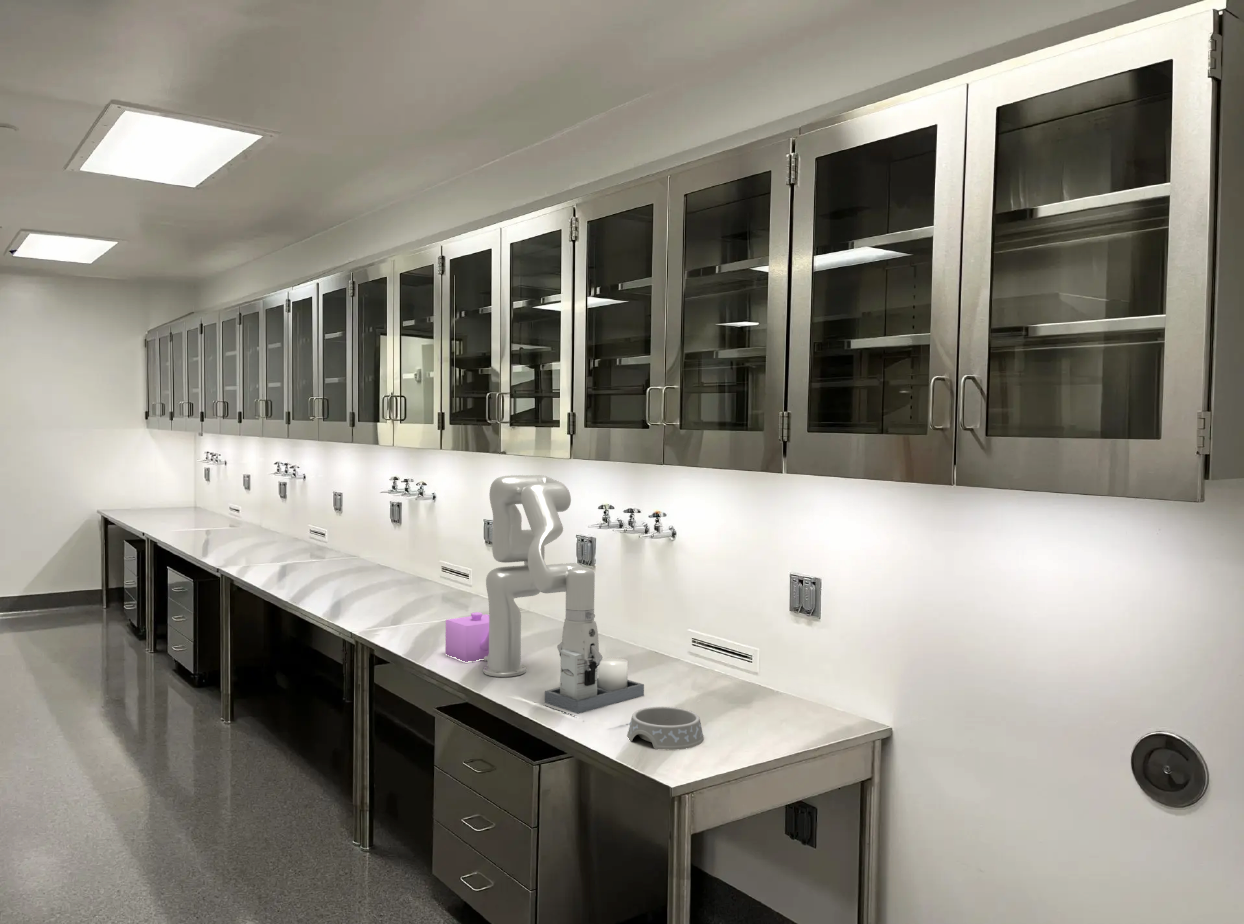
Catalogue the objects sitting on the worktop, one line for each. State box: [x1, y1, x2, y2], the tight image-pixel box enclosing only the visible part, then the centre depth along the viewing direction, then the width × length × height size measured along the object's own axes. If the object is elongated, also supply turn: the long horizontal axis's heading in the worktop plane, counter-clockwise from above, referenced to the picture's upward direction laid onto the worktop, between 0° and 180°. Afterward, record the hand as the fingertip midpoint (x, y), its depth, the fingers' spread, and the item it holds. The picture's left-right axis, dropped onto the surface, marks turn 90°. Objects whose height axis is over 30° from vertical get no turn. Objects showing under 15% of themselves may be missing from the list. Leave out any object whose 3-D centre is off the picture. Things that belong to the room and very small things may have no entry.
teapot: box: [445, 611, 489, 662], centre depth 291 cm, size 15×25×14 cm, turn 40°
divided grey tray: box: [544, 677, 645, 717], centre depth 242 cm, size 13×24×4 cm, turn 135°
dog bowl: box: [626, 706, 705, 750], centre depth 215 cm, size 17×18×5 cm
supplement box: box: [559, 649, 598, 700], centre depth 238 cm, size 7×7×13 cm
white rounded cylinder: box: [597, 657, 629, 692], centre depth 247 cm, size 8×8×9 cm
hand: (578, 681), depth 238 cm, fingers closed on supplement box, 7 cm apart
